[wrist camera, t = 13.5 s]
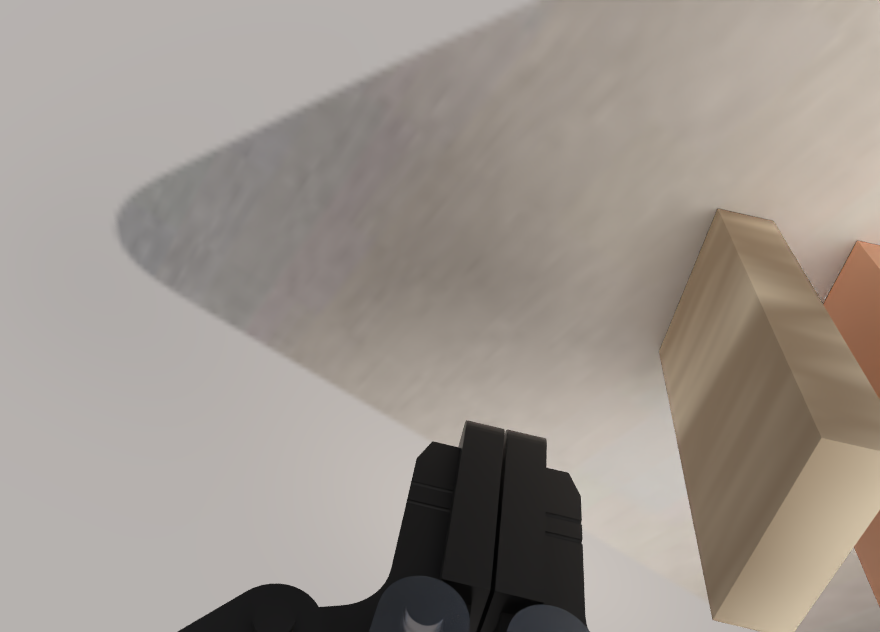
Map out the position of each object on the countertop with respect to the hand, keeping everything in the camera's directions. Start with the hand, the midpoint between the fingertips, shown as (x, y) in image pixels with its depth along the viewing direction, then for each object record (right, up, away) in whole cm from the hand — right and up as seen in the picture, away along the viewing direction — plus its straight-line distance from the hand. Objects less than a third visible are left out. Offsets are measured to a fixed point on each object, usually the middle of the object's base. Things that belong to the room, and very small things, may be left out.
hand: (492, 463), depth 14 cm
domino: (+7, +4, +9) cm, 12 cm away
